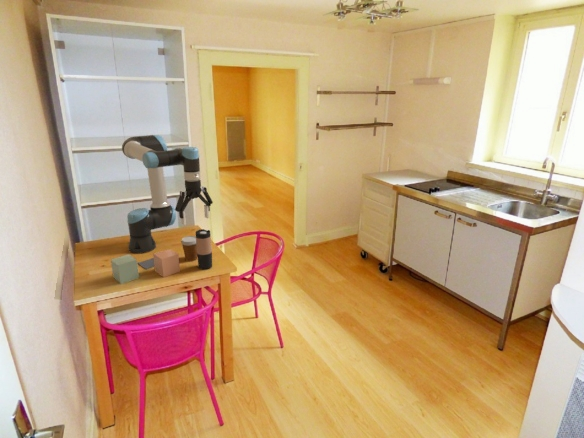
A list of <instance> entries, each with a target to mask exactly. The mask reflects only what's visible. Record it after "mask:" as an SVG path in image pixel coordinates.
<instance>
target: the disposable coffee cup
mask: <svg viewBox="0 0 584 438" xmlns="http://www.w3.org/2000/svg"><path fill="white" fill-rule="evenodd" d="M180 243H181V245H182V249H183V253H184V259H185V261H187V262H194V261H196V260H198V257H197V246H196V235H188V236H184V237H182V238H181V241H180Z"/></svg>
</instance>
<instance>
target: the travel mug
mask: <svg viewBox="0 0 584 438" xmlns="http://www.w3.org/2000/svg"><path fill="white" fill-rule="evenodd" d="M195 236H196V246H197V265H198V269H199V270H202V271H203V270H205V271H206V270H210V269H212V268H213V249H212V237H211V230H210V229H208V230H207V229H198V230H196V231H195Z"/></svg>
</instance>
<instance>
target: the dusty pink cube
mask: <svg viewBox="0 0 584 438" xmlns="http://www.w3.org/2000/svg"><path fill="white" fill-rule="evenodd" d="M153 258H154V265H155V267H154V269H155V273H157V274H159V275H160V276H161V277H162V278H166V277H169V276H171V275H174V274H177V273H180V272H181V271H180V270H181V269H180V259H179V253H178V252H176V251H174V250H172V249H171V248H168V249H165V250H161V251H158V252H155V253H153Z"/></svg>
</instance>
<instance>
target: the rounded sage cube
mask: <svg viewBox="0 0 584 438" xmlns="http://www.w3.org/2000/svg"><path fill="white" fill-rule="evenodd" d="M110 263H111V269H112V275H113V279H114V278H115V281H116V282H117V283H119V284H120V285H122V284H126V283H128V282H130V281H133V280H138V279H140V274H139V266H138V260H137V259H136V258H135V257H133V256H132V255H131V254H129V253H128V254H125V255H122V256H119V257H115V258H111V259H110Z"/></svg>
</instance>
